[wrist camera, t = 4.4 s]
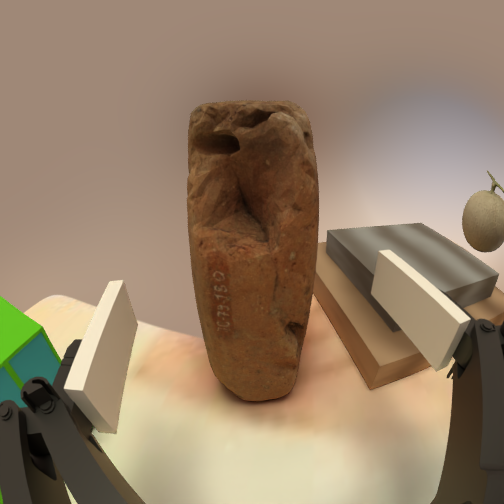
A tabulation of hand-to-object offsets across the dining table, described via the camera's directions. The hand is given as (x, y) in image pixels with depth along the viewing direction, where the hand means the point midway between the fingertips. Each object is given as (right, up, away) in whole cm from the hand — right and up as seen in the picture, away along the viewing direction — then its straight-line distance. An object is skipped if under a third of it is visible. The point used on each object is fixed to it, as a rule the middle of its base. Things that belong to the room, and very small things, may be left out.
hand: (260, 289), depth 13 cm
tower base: (+18, -3, +16) cm, 25 cm away
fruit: (+44, +2, +26) cm, 51 cm away
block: (0, -8, +10) cm, 12 cm away
